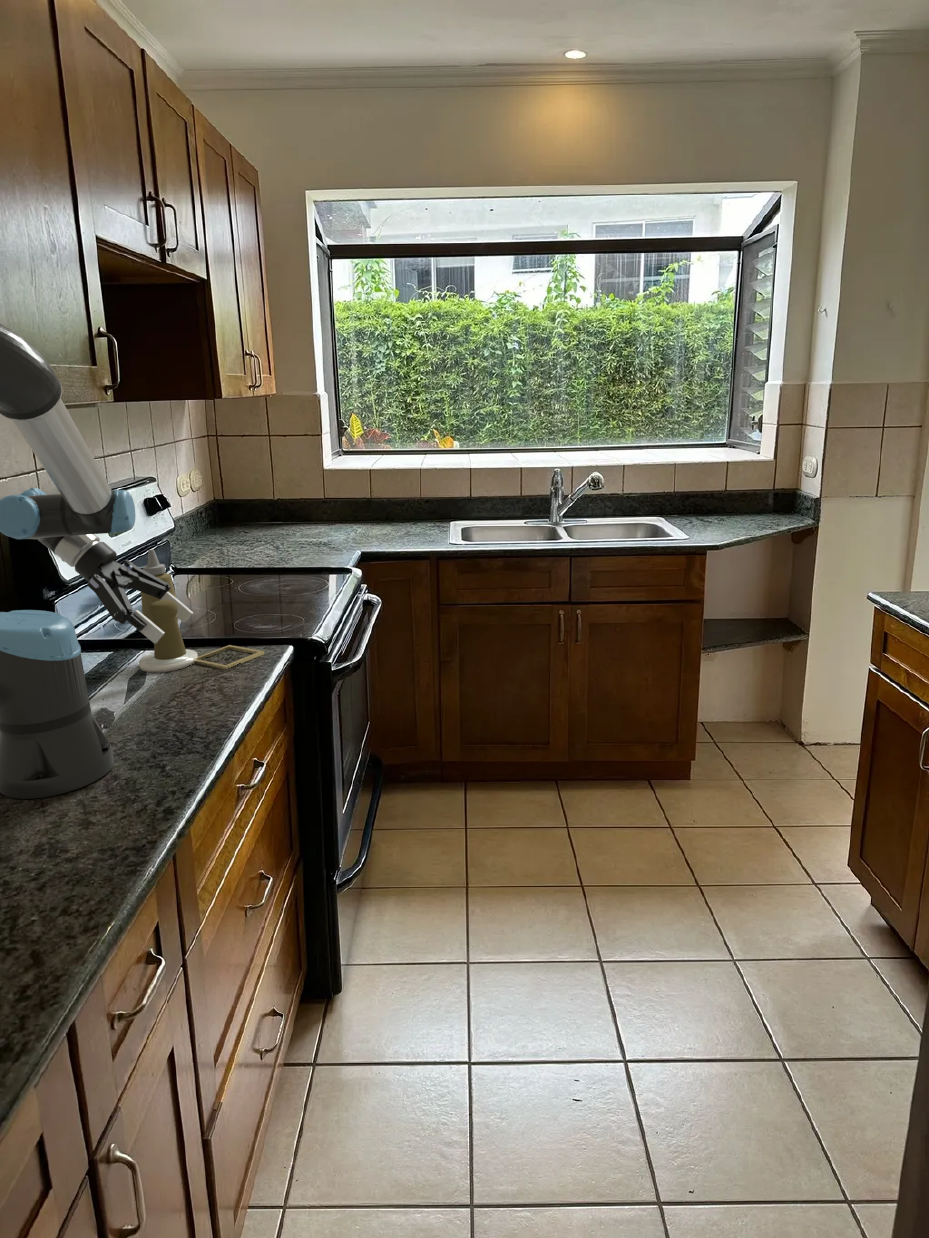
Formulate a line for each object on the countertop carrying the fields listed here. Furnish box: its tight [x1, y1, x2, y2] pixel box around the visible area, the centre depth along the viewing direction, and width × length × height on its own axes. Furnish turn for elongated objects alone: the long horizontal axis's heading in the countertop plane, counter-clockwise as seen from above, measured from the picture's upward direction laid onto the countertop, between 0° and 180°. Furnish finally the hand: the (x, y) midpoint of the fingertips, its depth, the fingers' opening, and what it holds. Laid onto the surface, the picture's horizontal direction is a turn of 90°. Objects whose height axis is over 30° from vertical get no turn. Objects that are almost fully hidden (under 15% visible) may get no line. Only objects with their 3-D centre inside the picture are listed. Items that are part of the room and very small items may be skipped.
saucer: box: [138, 648, 199, 674], centre depth 164 cm, size 11×11×1 cm
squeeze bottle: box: [140, 549, 179, 623], centre depth 186 cm, size 8×8×18 cm
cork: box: [149, 600, 186, 660], centre depth 164 cm, size 6×6×11 cm
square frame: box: [194, 644, 265, 670], centre depth 165 cm, size 10×10×1 cm
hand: (175, 627), depth 162 cm, fingers open, 13 cm apart
